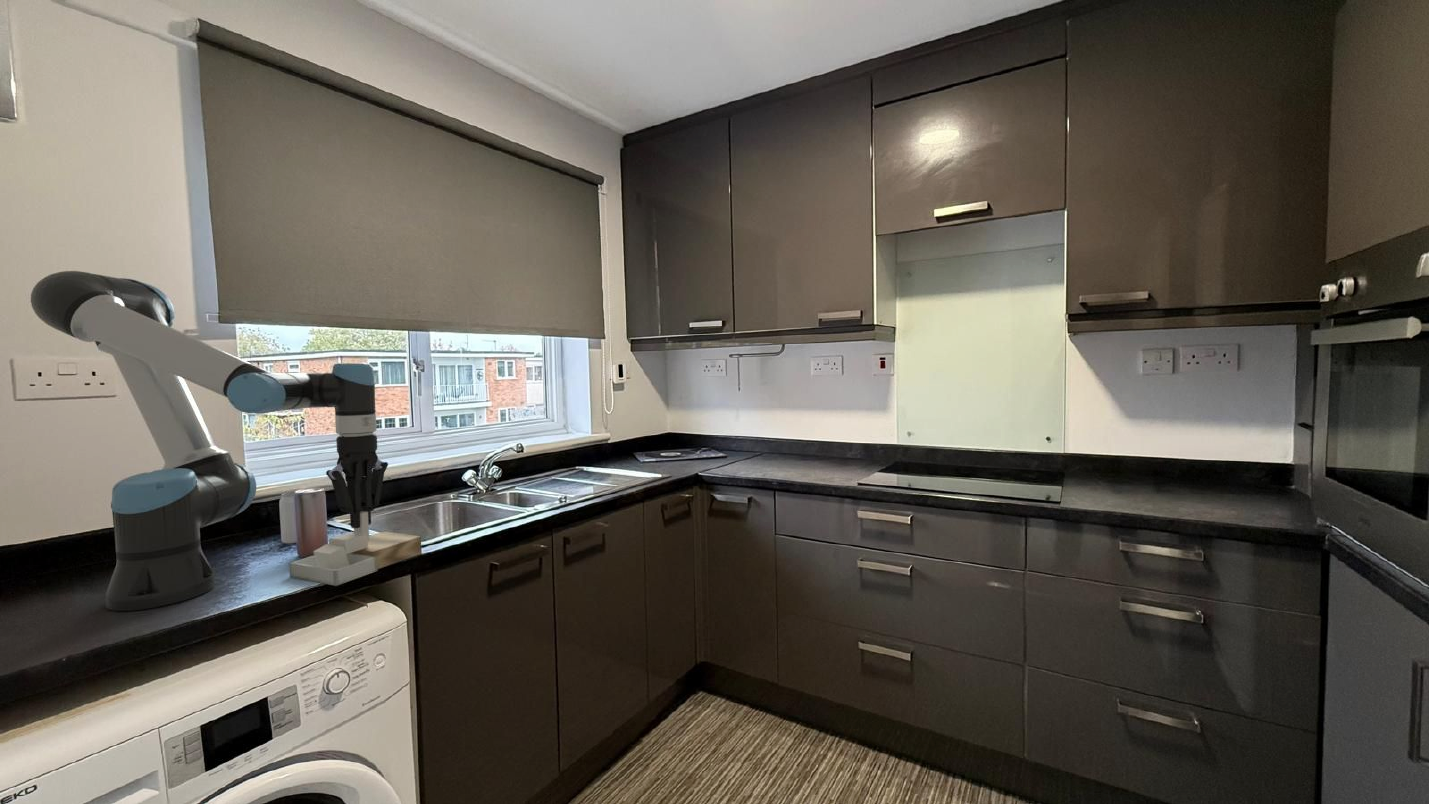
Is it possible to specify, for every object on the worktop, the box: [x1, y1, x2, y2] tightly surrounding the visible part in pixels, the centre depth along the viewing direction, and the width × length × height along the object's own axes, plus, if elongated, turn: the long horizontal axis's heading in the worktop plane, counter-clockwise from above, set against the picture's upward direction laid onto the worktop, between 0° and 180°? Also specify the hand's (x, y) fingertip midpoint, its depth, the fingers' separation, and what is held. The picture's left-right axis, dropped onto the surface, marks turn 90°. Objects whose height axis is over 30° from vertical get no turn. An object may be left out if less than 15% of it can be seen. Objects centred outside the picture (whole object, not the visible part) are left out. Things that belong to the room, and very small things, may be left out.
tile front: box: [313, 543, 349, 570], centre depth 121 cm, size 5×5×3 cm
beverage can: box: [294, 487, 329, 559], centre depth 135 cm, size 6×6×15 cm
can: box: [278, 491, 297, 545], centre depth 147 cm, size 6×6×12 cm
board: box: [352, 531, 423, 570], centre depth 132 cm, size 12×12×4 cm
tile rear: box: [328, 531, 368, 554], centre depth 125 cm, size 5×5×3 cm
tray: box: [288, 553, 378, 587], centre depth 122 cm, size 9×14×3 cm, turn 68°
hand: (361, 541), depth 128 cm, fingers closed
